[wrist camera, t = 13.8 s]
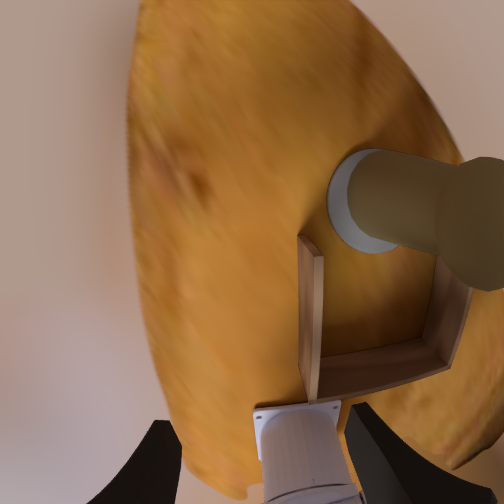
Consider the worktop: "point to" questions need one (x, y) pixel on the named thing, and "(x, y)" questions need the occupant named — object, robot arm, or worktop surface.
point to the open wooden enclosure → (383, 358)
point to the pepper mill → (435, 210)
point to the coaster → (340, 209)
